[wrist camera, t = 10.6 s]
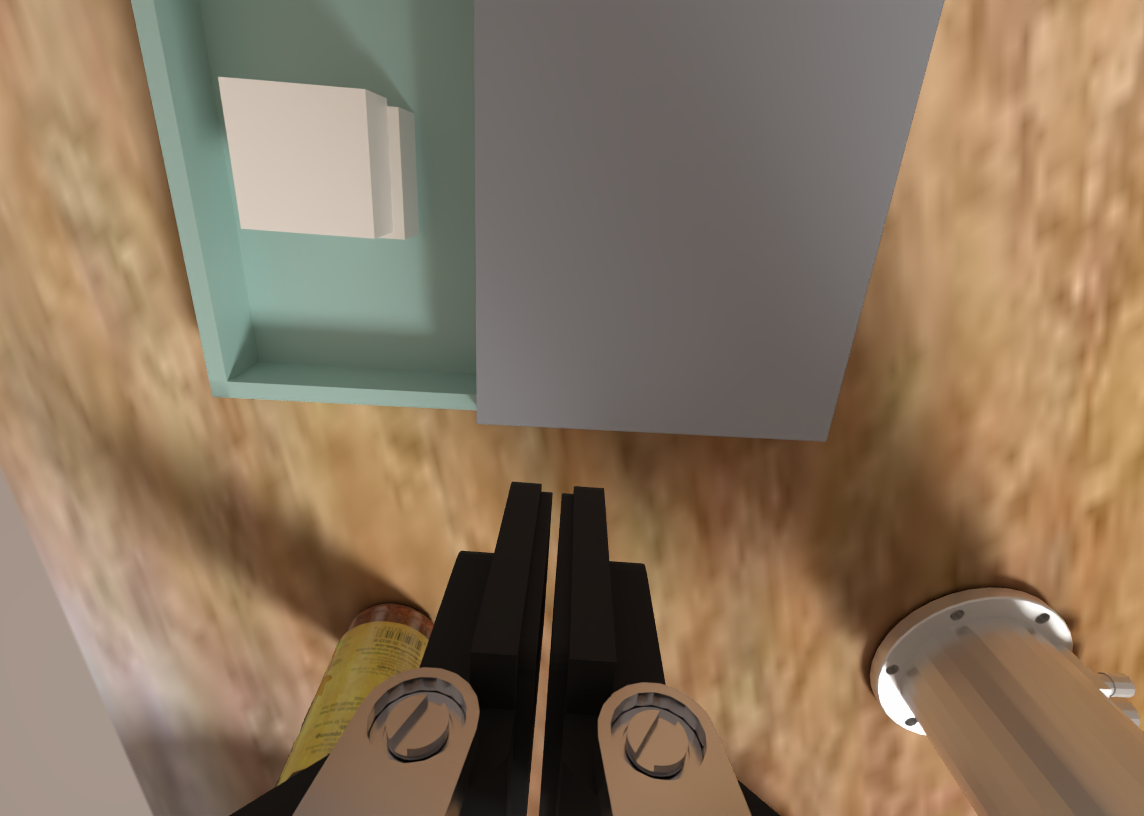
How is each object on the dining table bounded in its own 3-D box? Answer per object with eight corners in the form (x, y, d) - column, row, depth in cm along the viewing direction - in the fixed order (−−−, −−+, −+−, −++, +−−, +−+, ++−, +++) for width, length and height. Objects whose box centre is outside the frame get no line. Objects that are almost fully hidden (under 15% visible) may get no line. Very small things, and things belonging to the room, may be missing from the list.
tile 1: (217, 76, 19) (255, 87, 21) (241, 228, 21) (273, 223, 23) (365, 89, 19) (386, 98, 21) (374, 238, 21) (393, 232, 23)
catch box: (492, -93, 22) (480, -139, 18) (490, 384, 29) (481, 410, 26) (166, -120, 21) (95, -172, 18) (251, 372, 29) (212, 396, 26)
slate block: (891, -60, 22) (977, -120, 18) (786, 400, 30) (826, 441, 25) (492, -93, 22) (473, -165, 17) (490, 384, 29) (476, 423, 25)
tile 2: (267, 97, 21) (296, 104, 24) (285, 231, 23) (310, 226, 26) (398, 107, 22) (414, 113, 24) (404, 239, 24) (419, 233, 26)
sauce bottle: (329, 614, 35) (78, 1084, 17) (417, 585, 35) (251, 1047, 16) (379, 683, 38) (205, 1159, 20) (462, 658, 37) (361, 1130, 19)
